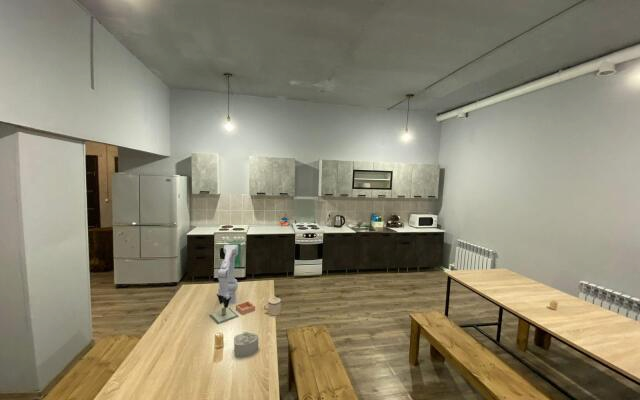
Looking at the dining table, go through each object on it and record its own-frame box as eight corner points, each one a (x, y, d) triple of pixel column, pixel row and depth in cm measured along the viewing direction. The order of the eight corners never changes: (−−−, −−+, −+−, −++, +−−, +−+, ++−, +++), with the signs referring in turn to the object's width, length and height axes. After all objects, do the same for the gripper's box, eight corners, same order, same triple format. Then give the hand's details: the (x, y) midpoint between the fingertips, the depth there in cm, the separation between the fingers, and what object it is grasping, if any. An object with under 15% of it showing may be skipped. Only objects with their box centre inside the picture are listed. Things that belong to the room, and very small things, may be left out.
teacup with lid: (280, 308, 198) (280, 293, 197) (281, 315, 189) (281, 299, 188) (263, 310, 195) (263, 294, 194) (263, 316, 186) (263, 300, 185)
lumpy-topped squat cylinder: (234, 346, 155) (234, 332, 154) (257, 342, 159) (257, 328, 158) (234, 358, 145) (234, 343, 144) (259, 354, 149) (259, 339, 148)
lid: (211, 315, 186) (211, 308, 185) (228, 309, 194) (228, 302, 194) (218, 322, 177) (218, 315, 177) (236, 316, 185) (236, 309, 185)
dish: (235, 310, 195) (235, 305, 194) (248, 306, 201) (248, 300, 201) (242, 316, 187) (242, 310, 187) (255, 311, 194) (255, 306, 194)
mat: (208, 315, 186) (208, 315, 186) (229, 308, 196) (229, 308, 196) (217, 325, 175) (217, 324, 175) (239, 317, 185) (239, 316, 185)
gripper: (213, 284, 186) (213, 303, 187) (222, 291, 175) (222, 311, 177) (223, 281, 191) (223, 300, 192) (232, 288, 180) (232, 307, 182)
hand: (223, 305), depth 185 cm, fingers open, 7 cm apart
